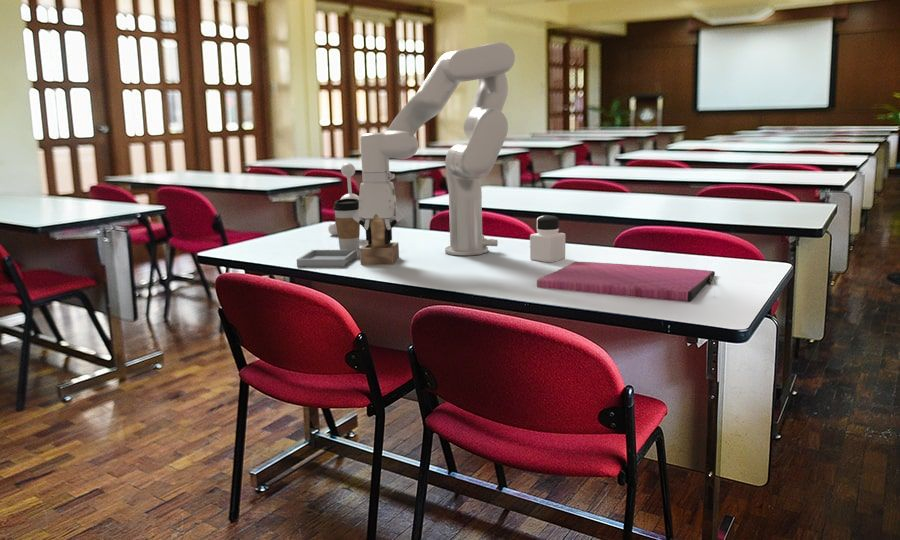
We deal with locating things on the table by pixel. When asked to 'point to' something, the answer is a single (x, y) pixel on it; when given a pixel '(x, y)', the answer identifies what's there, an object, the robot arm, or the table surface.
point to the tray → (327, 258)
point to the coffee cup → (347, 223)
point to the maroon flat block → (629, 280)
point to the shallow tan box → (379, 254)
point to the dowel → (378, 232)
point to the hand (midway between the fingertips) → (379, 242)
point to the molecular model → (347, 171)
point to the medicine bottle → (547, 240)
